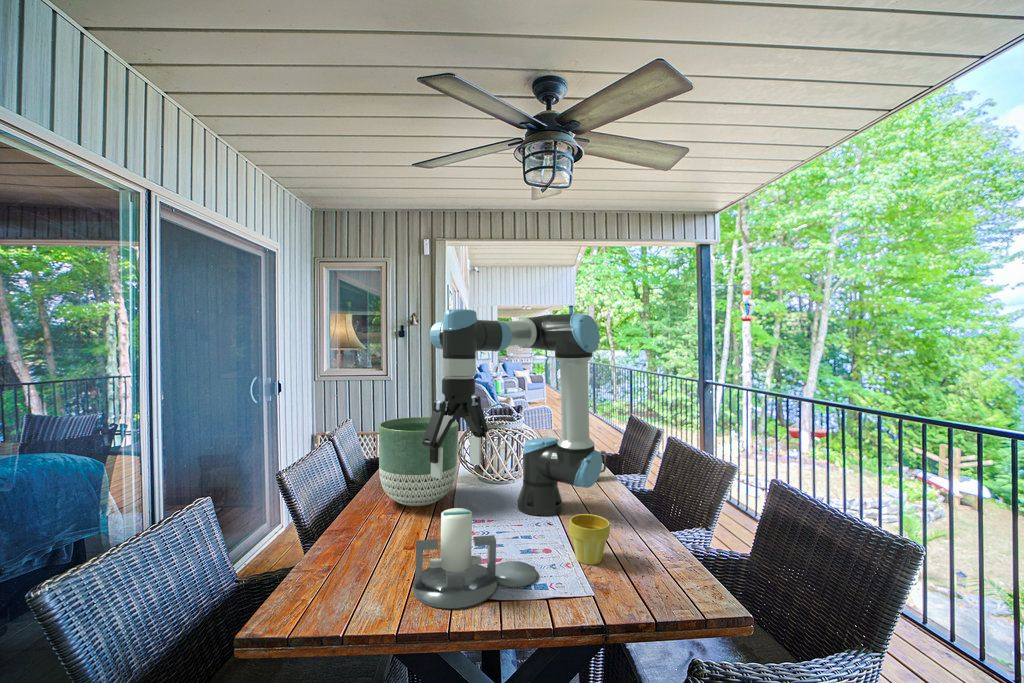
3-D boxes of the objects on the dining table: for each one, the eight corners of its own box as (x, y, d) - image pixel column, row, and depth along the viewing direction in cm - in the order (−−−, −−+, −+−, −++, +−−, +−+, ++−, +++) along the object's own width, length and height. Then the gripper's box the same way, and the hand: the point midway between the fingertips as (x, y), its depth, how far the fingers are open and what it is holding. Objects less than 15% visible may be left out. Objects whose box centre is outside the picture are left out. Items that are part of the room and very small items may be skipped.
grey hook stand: (489, 562, 116) (490, 521, 116) (504, 604, 98) (505, 556, 98) (413, 568, 112) (413, 526, 112) (412, 613, 94) (413, 563, 94)
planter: (360, 508, 151) (362, 426, 151) (407, 485, 175) (409, 414, 175) (431, 522, 141) (432, 434, 141) (470, 495, 166) (471, 420, 166)
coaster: (530, 562, 116) (530, 559, 116) (541, 585, 106) (542, 581, 106) (487, 566, 114) (487, 562, 114) (494, 589, 103) (494, 586, 103)
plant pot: (611, 553, 122) (612, 516, 122) (606, 571, 112) (607, 531, 112) (573, 547, 126) (573, 511, 126) (564, 564, 116) (565, 525, 116)
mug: (581, 481, 184) (582, 451, 184) (580, 476, 191) (580, 447, 191) (607, 482, 183) (607, 452, 183) (605, 477, 190) (605, 448, 190)
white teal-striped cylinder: (478, 555, 110) (479, 505, 110) (482, 569, 103) (483, 516, 103) (429, 558, 107) (430, 507, 107) (430, 574, 100) (431, 519, 100)
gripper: (478, 373, 117) (477, 456, 117) (406, 379, 97) (404, 480, 97) (503, 375, 113) (501, 461, 113) (433, 381, 92) (431, 487, 92)
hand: (456, 470), depth 105 cm, fingers open, 13 cm apart
